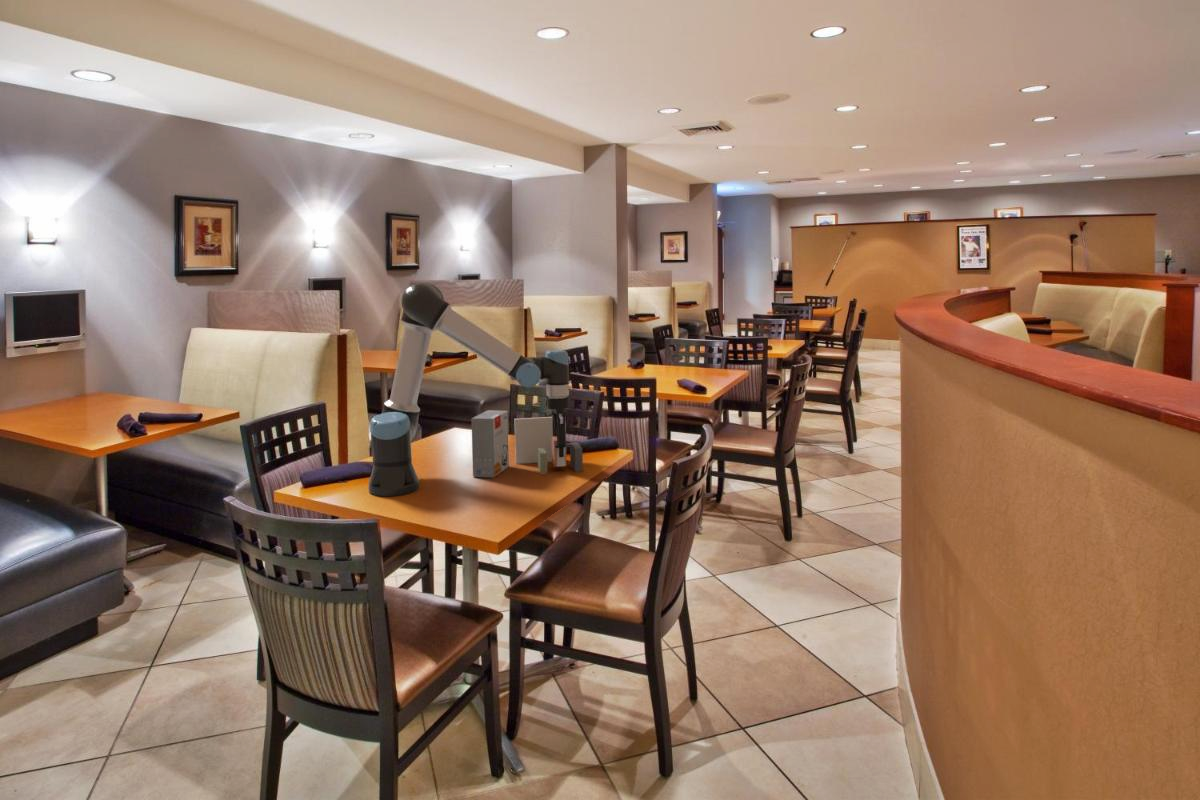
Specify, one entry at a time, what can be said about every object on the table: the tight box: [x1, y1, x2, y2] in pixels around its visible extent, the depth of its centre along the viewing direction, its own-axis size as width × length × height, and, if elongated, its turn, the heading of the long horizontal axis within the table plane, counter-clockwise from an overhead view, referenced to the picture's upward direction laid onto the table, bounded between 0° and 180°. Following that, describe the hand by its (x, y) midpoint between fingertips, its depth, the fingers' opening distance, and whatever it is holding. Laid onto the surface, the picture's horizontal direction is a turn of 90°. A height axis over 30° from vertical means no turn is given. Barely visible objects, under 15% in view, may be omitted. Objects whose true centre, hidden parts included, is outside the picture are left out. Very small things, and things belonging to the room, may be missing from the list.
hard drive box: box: [471, 409, 510, 479], centre depth 237 cm, size 16×8×20 cm, turn 168°
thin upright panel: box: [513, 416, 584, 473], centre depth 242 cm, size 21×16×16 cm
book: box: [551, 436, 567, 467], centre depth 239 cm, size 4×6×9 cm, turn 12°
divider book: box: [537, 448, 548, 475], centre depth 239 cm, size 2×8×7 cm, turn 12°
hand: (559, 463), depth 240 cm, fingers closed on book, 6 cm apart
